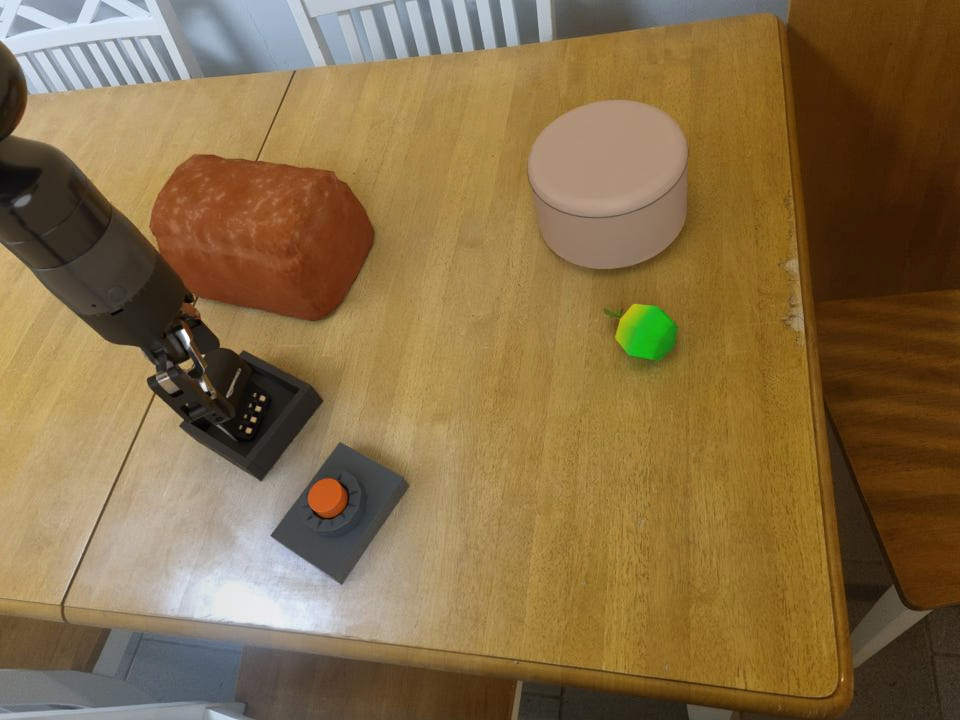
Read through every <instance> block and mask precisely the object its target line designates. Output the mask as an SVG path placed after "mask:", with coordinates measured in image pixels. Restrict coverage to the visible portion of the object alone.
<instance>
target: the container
mask: <svg viewBox="0 0 960 720" xmlns="http://www.w3.org/2000/svg"><path fill="white" fill-rule="evenodd" d="M688 143H689V142H688V141H687V137H686V135H685V133H684V131H683V128H682V127H681V126H680V124H679V123H678V122H677V120H675V119H674V118H673V117H672V116H671V115H670V114H668V113H667V112H666V111H664V110H663V109H660V108H659V107H656V106H655V105H652V104H648V103H645V102H641V101H636V100H631V99H606V100H599V101H598V100H597V101H594V102H590V103H586V104H584V105H580V106H578V107H574V108H572V109H571V110H568V111H566V112H565V113H563V114H562V115H559V116H558V117H556V119H554V120H552V121H551V123H549V124H548V125H547V126H546V127H544V129H543V130H542V131H541V132H540V133H539V135H537V138H536V139H535V141H534V142H533V143H532V146H531V148H530V151H529V155H528V158H527V165H526V176H527V181H528V183H529V186H530V189H531V194H532V198H533V203H534V208H535V211H536V217H537V221H538V225H539V230H540V233H541V236H542V238H543V240H544V242H545V244H546V245H547V246H548V247H549V249H550V250H551V251H552V252H553V253H555V254H556V255H557V256H558V257H560V258H561V259H563V260H565V261H567V262H569V263H571V264H574V265H577V266H580V267H584V268H587V269H588V268H589V269H596V270H613V269H614V270H615V269H622V268H627V267H631V266H634V265H637V264H641V263H643V262H645V261H648V260H649V259H652V258H653V257H655V256H657V255H658V254H660V253H662V252H663V251H664V250H666V248H668V247H669V246H670V245H671V244H673V242H674V241H675V240H676V238H677V237H678V236H679V234H680V233H681V232H682V230H683V227H684V226H685V223H686V220H687V213H688V177H689V175H688V172H689V171H688V169H689V166H688V165H689V156H690V155H689V153H690V152H689V151H690V149H689V144H688Z"/></svg>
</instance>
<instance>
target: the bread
mask: <svg viewBox="0 0 960 720" xmlns="http://www.w3.org/2000/svg"><path fill="white" fill-rule="evenodd" d="M148 227H149V230H150V232H151V235H153V236H154V238H155V241H156V244H157V247H158V248H157V249H158V252H159V253H160V254H161V255H162V257H163V258H164V259H165V260H166V261H167V262H168V263H169V265H170V266H171V267H172V268H173V269H174V270H175V271H176V272H177V274H178V275H179V276H180V277H181V279H182V281H183V283H184V286H185V287H186V288H187V289H188V290H189V291H190V292H191V293H192V294H193V296H196V297H198V298H201V299H205V300H211V301H216V302H221V303H226V304H229V305H235V306H240V307H244V308H250V309H253V310H254V309H255V310H260V311H263V312H269V313H274V314H277V315H280V316H282V317H288V318H293V319H299V320H305V321H310V322H314V321H317V320H322V319H325V318H328V317H329V316H330V315H331V314H332V313H333V312H334V311H335V310H336V309H337V308H338V307H339V306H340V305H341V303H342V301H343V300H344V298H345V296H347V293H348V292H349V290H350V288H351V287H352V285H353V283H354V281H355V280H356V278H357V276H358V274H359V272H360V270H361V269H362V268H363V265H364V263H365V261H366V258H367V256H368V255H369V253H370V250H371V249H372V246H373V244H374V237H375V229H374V227H373V224H372V222H371V220H370V218H369V215H368V213H367V211H366V208H365V207H364V206H363V204H362V203H361V201H360V200H359V199H358V198H357V196H356V194H355V193H354V191H353V190H352V189H351V187H350V186H349V185H348V183H347V182H345V181H343V180H341V179H339V178H338V177H337V174H336V172H335V171H334V170H328V169H322V168H314V167H300V166H295V165H290V164H286V163H275V162H270V161H265V160H250V159H246V158H226V157H222V156H219V155H216V154H207V153H205V154H200V153H198V154H196V153H194V154H192V155H190V157H188V158H187V159H186V160H184V161H183V162H182V163H180V164H179V165H178V166H176V168H175V169H174V170H173V172H172V174H171V175H170V176H169V177H168V179H167V181H165V184H164V185H163V187H162V188H161V189H160V190H159V192H158V193H157V196H156V198H155V201H154V204H153V206H152V209H151V215H150V220H149V226H148Z"/></svg>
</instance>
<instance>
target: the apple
mask: <svg viewBox="0 0 960 720" xmlns="http://www.w3.org/2000/svg"><path fill="white" fill-rule="evenodd" d="M601 309H602V311H603V312H604V314H605V315H606V316H609V317H608V318H609V319H610V318H615V319H618V324H617V328H616V333H615V336H614V339H615V341H617V343H618V344H619V345H620V347H621V348H622V349H623V351H624V352H625V353H626V355H628V356H630V357H633V358H637V359H643V360H650V361H657V362H660V361H661V360H662V359H663V358H665V357H666V356H667V354H669V353H670V352H671V351H672V350H673V349H674V348H675V345H676V342H677V341H676V340H677V336H678V332H679V326H678V325H677V323H676V322H675V321H674V320H673V318H671V316H670V315H669V314H668V313H667V312H666V311H665V310H664V309H662V308H660V307H659V306H657V305H651V304H640V303H633V304H632V305H631V306H630V307H629V308H628V309H627V310H626V311H625V312H624V313H623V308H621V309H619V310H618V311H616V312H614V311H612V310H611V309H610V308H601ZM621 314H623V315H621ZM620 315H621V317H620Z"/></svg>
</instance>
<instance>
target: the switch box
mask: <svg viewBox="0 0 960 720" xmlns="http://www.w3.org/2000/svg"><path fill="white" fill-rule="evenodd" d="M326 478H331V479H334V480H336V481H338V482H339V483H340V484H341V485H342V486H343V487H344V489H345V490H346V492H347V495H348V501H347V505H346V507H345V508H344V510H343V511H342V512H341V513H340V514H338V515H337V516H335V517H332V518H324V517H321V516H320V515H318V514H317V513H316V512H315V511H314V510H313V509H312V508H311V507H310V505H309V503H308V495H309V492H310V490H311V488H312V487H313V485H314V484H315V483H317V482H318V481H320V480H322V479H326ZM409 487H410V484H409V483H408V482H407V480H406V479H405V477H404V476H402V475H400V474H398V473H397V472H395V471H393V470H392V469H389V468H388V467H386V466H384V465H382V464H381V463H379V462H377V461H375V460H374V459H372V458H370V457H368V456H366V455H365V454H362V453H361V452H359V451H358V450H355V449H354V448H352V447H350V446H348V445H346V444H344V443H343V442H341V441H339V442H338V444H337V445H336V446H335V448H334V449H333V450H332V452H331V453H330V454H329V456H328V457H327V459H325V460H324V463H323V464H322V465H321V467H320V468H319V469H318V470H317V472H316V473H315V475H314V476H313V477H312V479H311V480H310V481H309V483H308V484H307V485H306V487H305V488H304V489H303V491H302V492H301V493H300V495H299V496H298V498H297V499H296V500H295V501H294V503H293V504H292V505H291V507H290V508H289V510H288V511H287V512H286V513H285V515H284V516H283V518H282V519H281V520H280V521H279V523H278V524H277V526H276V527H275V529H274V530H273V531H272V532H271V533H270V535H269V536H270V538H272V539H273V540H275V541H276V542H277V543H279V544H280V545H282V546H283V547H284V548H286V549H288V550H289V551H291V552H292V553H294V554H295V555H297V556H298V557H299V558H301V559H302V560H304V561H305V562H307V563H308V564H310V565H311V566H313V567H314V568H316V569H317V570H318V571H320V572H322V573H323V574H324V575H326V576H328V577H329V578H330V579H332V580H333V581H334V582H336V583H338V584H339V585H341V586H342V585H343V584H344V582H345V581H346V580H347V578H348V576H349V575H350V573H351V572H352V570H353V569H354V567H355V566H356V564H357V563H358V562H359V560H360V559H361V557H362V556H363V554H364V553H365V551H366V550H367V549H368V547H369V545H370V544H371V543H372V542H373V540H374V538H375V537H376V536H377V534H378V532H379V531H380V529H381V528H382V526H383V525H384V523H385V522H386V521H387V519H388V517H390V515H391V513H392V511H393V510H395V507H396V506H397V505H398V503H399V502H400V500H401V499H402V497H403V496H404V494H405V493H406V492H407V490H408V489H409Z"/></svg>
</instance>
